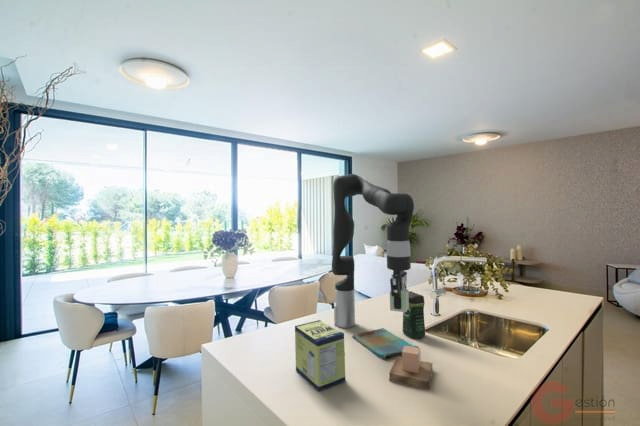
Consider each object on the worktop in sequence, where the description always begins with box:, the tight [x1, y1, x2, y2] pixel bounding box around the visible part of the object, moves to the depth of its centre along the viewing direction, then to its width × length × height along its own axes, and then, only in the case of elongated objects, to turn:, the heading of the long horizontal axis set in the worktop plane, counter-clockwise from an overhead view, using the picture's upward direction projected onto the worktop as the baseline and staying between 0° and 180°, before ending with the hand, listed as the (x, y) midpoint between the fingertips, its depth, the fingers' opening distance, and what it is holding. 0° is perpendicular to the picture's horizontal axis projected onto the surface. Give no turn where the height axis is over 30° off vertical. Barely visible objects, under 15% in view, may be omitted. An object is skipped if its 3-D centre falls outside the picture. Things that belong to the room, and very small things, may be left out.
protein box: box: [294, 319, 346, 392], centre depth 99 cm, size 10×16×16 cm
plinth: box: [388, 356, 434, 390], centre depth 98 cm, size 12×12×2 cm
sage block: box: [389, 288, 409, 313], centre depth 97 cm, size 5×5×6 cm
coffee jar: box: [402, 290, 426, 339], centre depth 130 cm, size 10×8×19 cm
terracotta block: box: [401, 346, 421, 373], centre depth 98 cm, size 5×5×6 cm
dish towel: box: [351, 327, 419, 361], centre depth 122 cm, size 17×23×2 cm
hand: (399, 305), depth 97 cm, fingers closed on sage block, 5 cm apart
